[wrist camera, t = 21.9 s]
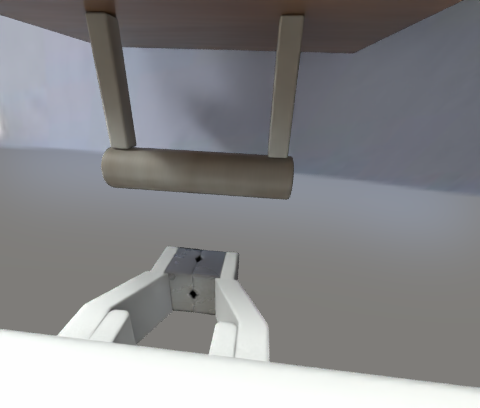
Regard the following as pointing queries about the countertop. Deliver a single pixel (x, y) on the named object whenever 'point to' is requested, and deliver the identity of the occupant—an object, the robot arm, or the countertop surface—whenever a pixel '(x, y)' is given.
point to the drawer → (217, 38)
